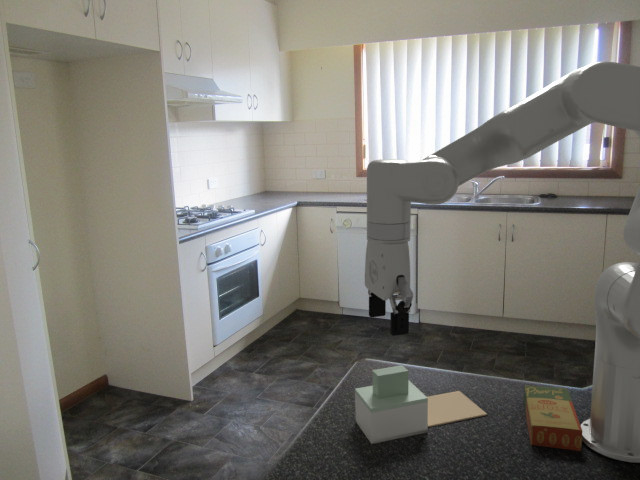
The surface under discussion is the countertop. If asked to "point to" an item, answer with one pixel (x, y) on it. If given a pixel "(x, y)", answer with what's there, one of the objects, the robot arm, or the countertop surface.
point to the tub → (391, 421)
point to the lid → (390, 390)
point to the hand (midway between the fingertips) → (387, 324)
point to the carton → (551, 418)
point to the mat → (451, 408)
